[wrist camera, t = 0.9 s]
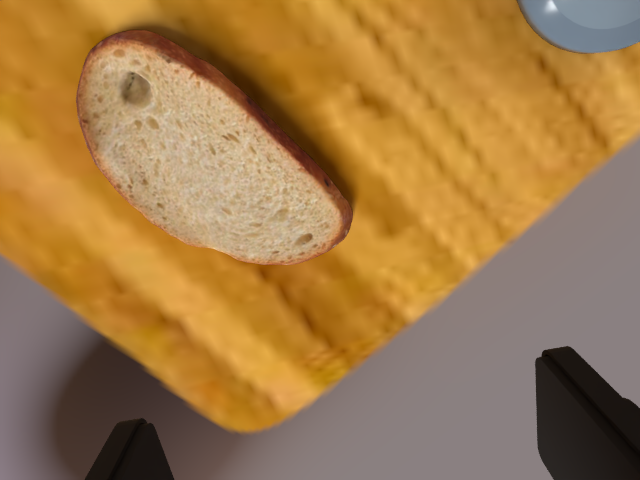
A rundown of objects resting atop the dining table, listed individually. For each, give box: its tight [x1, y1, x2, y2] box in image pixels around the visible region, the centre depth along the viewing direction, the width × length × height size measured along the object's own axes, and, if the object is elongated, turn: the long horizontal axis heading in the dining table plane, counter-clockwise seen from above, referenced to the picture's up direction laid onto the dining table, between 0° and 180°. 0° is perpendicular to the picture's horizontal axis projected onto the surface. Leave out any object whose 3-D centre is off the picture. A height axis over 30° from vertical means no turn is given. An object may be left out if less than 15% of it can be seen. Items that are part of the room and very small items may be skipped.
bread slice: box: [76, 30, 353, 265], centre depth 31 cm, size 18×18×4 cm
